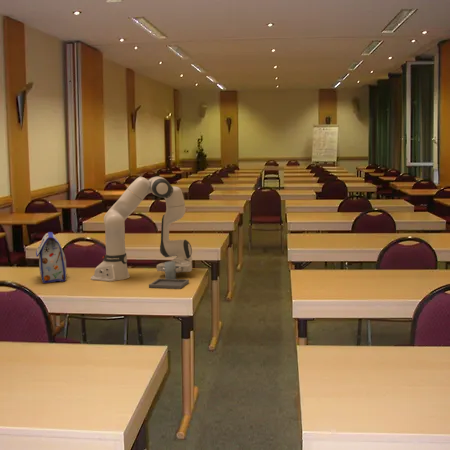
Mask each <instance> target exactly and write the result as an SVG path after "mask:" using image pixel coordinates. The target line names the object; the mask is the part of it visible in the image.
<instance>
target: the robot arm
mask: <svg viewBox="0 0 450 450" xmlns="http://www.w3.org/2000/svg"><path fill="white" fill-rule="evenodd" d="M151 193H152V195H154V196H156V197H158V198H164V200H165V206H166V208H165V209H166V210H165V213H164V214H163V215H162V218H161V226H160V227H161V228H160V230H161V231H160V245H159V253H160V254H161V255H162V256H163V257H164V258H170V257H174V258H173V259H171V261H174V262H175V272H176V274H180V273H190V272H192V271H193V257H192V253H193V249H192V245H191V242H190V241H188V240H187V239H174V240H173V239H172V240H171V239H170V227H171V225H172V224H173V223H175V222H177V221H179V220H181V219H182V218H183V217H184V216H185V214H186V201H185V198H184V194H183V191H182V188H180V187H179V186H174V185H173V186H172V185H171V183H170V182H169V181H168V180H167V179H166V178H164V177H163V176H159V175H154V176H152V177H150V178H145V177H142V176H139V177H137V178H136V179H134V181H132V182H131V183H130V185H129V186H128V187H127V188H126V189H125V191H123V193H122V194H121V195H120V196H119V198H118V199H117V200H116V202H115V203H113V205H112V206H111V207H110V208H109V209H108V211H106V213H105V215H104V216H103V224H104V229H105V232H104V233H105V236H104V237H105V242H104V243H105V253H106V254H104V255H103V256H102V259H103V260H102V262H101V263H99V264H98V265H97V266H96V267H95V269H94V275H92V276H90V280H92V281H102V282H115V281H122V280H126V279H129V278H130V273H129V269H128V264H127V263H128V256H127V253H126V239H125V238H126V234H125V232H126V230H125V228H126V225H125V224H126V223H125V221H126V220H127V218H128V217H129V216H130V215H131V214H133V213H134V211H135V210H136V209H137V208H138V206H139V205H140V204H141V203H142V202H143V200H145V198H146V196H147V195H149V194H151ZM156 271H157V272H164V273H165V262H161V263H158V264H156Z"/></svg>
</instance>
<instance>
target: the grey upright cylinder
mask: <svg viewBox="0 0 450 450" xmlns="http://www.w3.org/2000/svg"><path fill="white" fill-rule="evenodd" d="M164 263H165V272H164V276H165V278H164V279H177V273H176V272H175V262H174V261H172V260H167V261H165V262H164Z"/></svg>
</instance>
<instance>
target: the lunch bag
mask: <svg viewBox="0 0 450 450" xmlns="http://www.w3.org/2000/svg"><path fill="white" fill-rule="evenodd" d="M35 255H36V258H39V259H38V264H39V265H38V266H39V274H40V279H41V282H42V283H43V284H49V283H54V282H65V281H66V280H67V259H66V255H65V253H64V250H63V248H62V246H61V242H60V241H59V239H58V238H57V237H56V235H55V234H54V233H53V231H48V232H47V233H45V234H44V235H43V237H42V239H41V241H40V243H39V245H38V246H37V249H36V251H35Z"/></svg>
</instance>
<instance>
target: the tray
mask: <svg viewBox="0 0 450 450" xmlns="http://www.w3.org/2000/svg"><path fill="white" fill-rule="evenodd" d="M189 283H190V279H184V278H183V279H182V278H181V279H179V278H178V279H177V278H176V279H165V278H157V279H155V280H153V282H151V283H149V284H148V289H167V290H169V289H170V290H171V289H172V290H173V289H174V290H181V289H183V288H184V287H185V286H187V285H188V284H189Z"/></svg>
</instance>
